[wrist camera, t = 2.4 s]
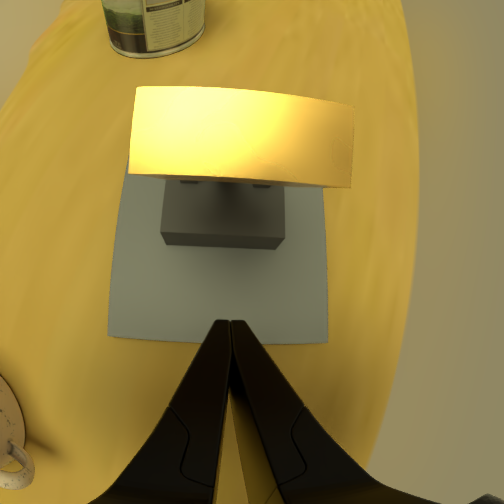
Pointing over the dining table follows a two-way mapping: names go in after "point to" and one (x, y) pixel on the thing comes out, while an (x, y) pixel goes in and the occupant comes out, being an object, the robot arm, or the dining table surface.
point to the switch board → (218, 261)
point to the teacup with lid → (13, 442)
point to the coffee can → (153, 26)
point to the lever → (241, 137)
